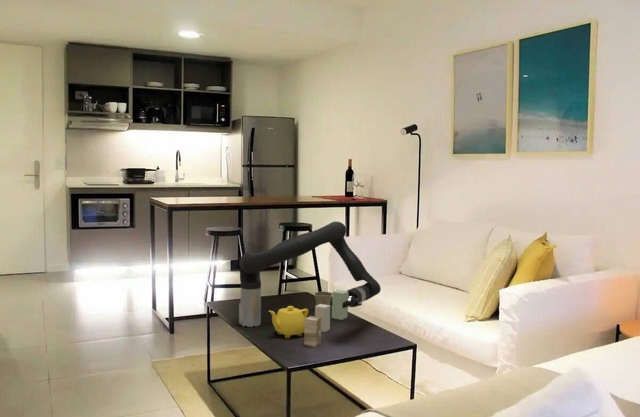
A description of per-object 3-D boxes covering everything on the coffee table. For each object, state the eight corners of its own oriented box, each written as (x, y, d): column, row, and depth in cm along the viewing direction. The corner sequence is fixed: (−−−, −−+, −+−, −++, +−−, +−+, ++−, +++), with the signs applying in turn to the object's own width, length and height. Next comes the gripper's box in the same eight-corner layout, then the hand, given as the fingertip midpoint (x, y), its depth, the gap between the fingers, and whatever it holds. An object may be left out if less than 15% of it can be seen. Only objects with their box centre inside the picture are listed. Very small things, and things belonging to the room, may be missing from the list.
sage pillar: (342, 319, 232) (343, 293, 231) (331, 317, 234) (332, 291, 233) (347, 317, 236) (348, 291, 235) (336, 315, 238) (337, 289, 237)
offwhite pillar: (324, 332, 248) (325, 307, 247) (314, 330, 250) (315, 306, 249) (329, 329, 252) (330, 305, 251) (319, 327, 254) (320, 303, 254)
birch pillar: (314, 346, 227) (315, 320, 227) (304, 344, 230) (304, 318, 229) (320, 343, 232) (321, 317, 231) (310, 341, 234) (310, 315, 233)
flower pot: (319, 313, 278) (319, 296, 277) (310, 309, 286) (310, 292, 286) (335, 311, 282) (335, 294, 282) (326, 307, 291) (327, 290, 290)
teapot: (260, 334, 243) (261, 306, 242) (299, 327, 254) (300, 300, 253) (276, 342, 232) (276, 313, 231) (316, 335, 243) (316, 307, 242)
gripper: (340, 286, 250) (322, 293, 235) (369, 290, 243) (353, 298, 228) (339, 302, 251) (321, 310, 236) (369, 307, 244) (352, 316, 229)
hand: (337, 304), depth 232 cm, fingers closed on sage pillar, 5 cm apart
